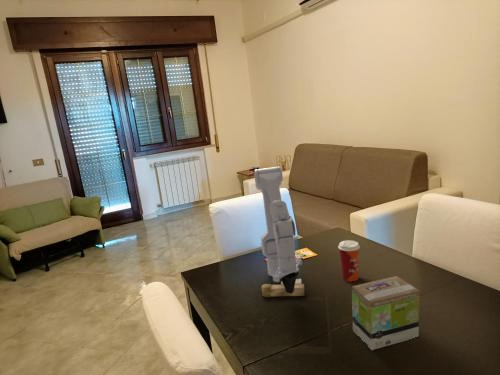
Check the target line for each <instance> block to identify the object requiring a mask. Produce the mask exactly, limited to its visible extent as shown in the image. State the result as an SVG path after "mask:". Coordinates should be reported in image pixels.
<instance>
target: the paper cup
mask: <svg viewBox="0 0 500 375" xmlns="http://www.w3.org/2000/svg"><path fill="white" fill-rule="evenodd" d="M337 247H338V249H339V256H340V267H341V273H342V274H341V275H342V279H343V281H345V282H347V281H348V283H353V282H352V281H355V282H357V281H358V280H359V267H360V266H359V264H360V263H359V262H360V248H361V246H360V244H359V242H358V241H356V240H342V241H340V242H339V244H338V246H337ZM356 280H357V281H356Z"/></svg>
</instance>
